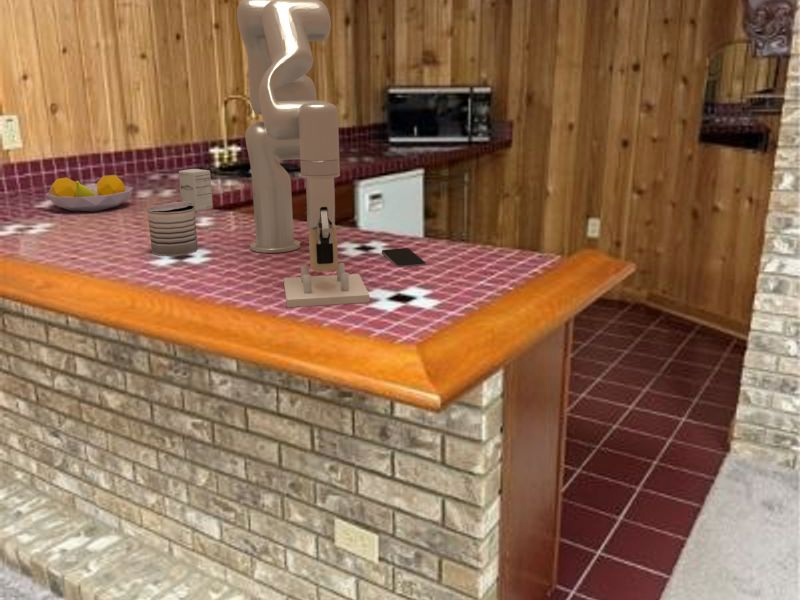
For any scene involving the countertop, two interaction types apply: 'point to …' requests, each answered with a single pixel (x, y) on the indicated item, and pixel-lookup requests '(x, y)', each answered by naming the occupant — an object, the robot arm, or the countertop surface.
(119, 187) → the fruit bowl
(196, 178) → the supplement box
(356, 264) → the countertop surface
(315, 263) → the candle
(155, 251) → the can
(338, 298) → the plate
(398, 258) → the smartphone
